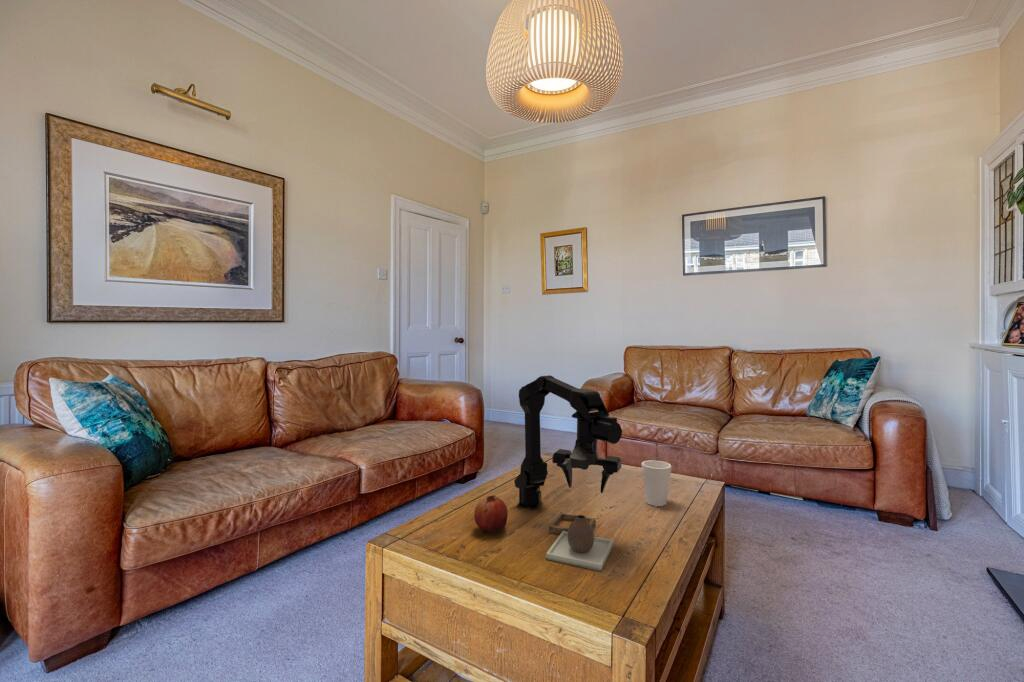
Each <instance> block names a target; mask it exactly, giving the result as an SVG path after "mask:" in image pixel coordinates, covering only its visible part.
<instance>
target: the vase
mask: <svg viewBox="0 0 1024 682" xmlns="http://www.w3.org/2000/svg"><path fill="white" fill-rule="evenodd" d="M576 515H577V516H576V518H575V520H574V521H571V523H570V524H569V527H568V528H569V529H568V534H567V537H568V543H569V545H570V547H571V549H572V550H573V551H575V552H576V553H581V554H582V553H587V552H588V551H589V550H590V549H591V548H592V546H593V544H594V537H595V532H594V528H592V526H591V525H590V524H589V522H588V521H587V519H586V517H585V516H586V515H583V514H576Z"/></svg>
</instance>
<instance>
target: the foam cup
mask: <svg viewBox="0 0 1024 682" xmlns="http://www.w3.org/2000/svg"><path fill="white" fill-rule="evenodd" d="M641 472H642V478H643V488H644V495H645V500H646V504H647V503H648V505H649V504H650V505H649V506H651V505H654V506H653V507H657V506H662V507H664V506H663V505H665V504H666V505H667V502H668V493H669V486H670V480H671V475H672V465H671V463H669V462H666V461H662V460H653V459H652V460H650V459H649V460H644V461H642V462H641ZM666 505H665V506H666Z"/></svg>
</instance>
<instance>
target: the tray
mask: <svg viewBox="0 0 1024 682" xmlns="http://www.w3.org/2000/svg"><path fill="white" fill-rule="evenodd" d="M567 534H568V532H567V531H563V532H562V533H561V534H560V535H558V537H557V538H556V540H555V541H554V542H553V544H552V545H551V546H550V548H549V549H548V550H547V551H546V554H545V560H548V561H552V562H557V563H561V564H566V565H571V566H575V567H580V568H585V569H589V570H593V571H597V572H602V571H603V568H604V567H605V564H606V562H607V560H608V558H609V556H610V553H611V551H612V549H613V547H614V539H613V540H612V539H609V538H603V537H598V536H597V537H596V536H594V544H593V546H592V548H591V549H590V550H589V551H588V552H587V553H582V554H581V553H576V552H575V551H573V550H572V549H571V547H570V545H569V543H568V537H567Z"/></svg>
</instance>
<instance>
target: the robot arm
mask: <svg viewBox="0 0 1024 682" xmlns="http://www.w3.org/2000/svg"><path fill="white" fill-rule="evenodd" d="M550 393H551V394H553V395H555V396H557V397H559V398H561V399H563V400H565V401H566V402H568V403H569V405H570V407H572V409H573V410H574V411H575V412H574V413H573V414H571V418H572V419H576V440H575V443H574V445H575V446H574V447H573V449H572V450H569V449H563V448H559V449H558V450H556V451H555V452H554V453H553V454H552V456H551V457H552V460H551V462H552V463H553V464H556V467H558V468H560V469H561V470H562V472H563V473H564V476H565V479H566V481H567V485H568V487H569V489H571V488H573V487H572V486H573V469H581V470H584V471H585V470H588V469H589V468H590V467H589V466H599V467H600V466H601V467H602V471H601V483H600V494H603V493H604V491H605V488H606V485H607V483H608V480H609V478H610V476H612V475H614V473H615V474H616V473H618V472H620V470H621V468H622V466H623V465H622V459H621V457H618V456H612V455H607V456H605V458H599V457H598V453H599V452H598V443H599V442H598V441H601V442H602V441H603V442H606V443H608V444H611V445H612V444H613V445H616V444H618V443H619V441H620V440H621V438H622V435H623V429H622V426H621V425H620V423H619V422H618V418H617V417H614V416H610V414H609V412H608V409H607V407H606V405H605V404H604V401H603V399H602V397H601V393H599V392H598V391H596V390H592V389H587V388H578V387H575V386H573V385H571V384H568V383H566V382H564V381H562V380H560V379H557V378H555V377H554V376H553V375H541V376H539V377H537V378H536V379H534V380H533V381H531V382H529V383H527V384H525V385H524V386H521V387H520V389H519V390H518V400H519V406H520V407H521V409H522V411H523V412H524V441H525V442H524V443H525V444H524V449H525V451H524V452H525V453H524V454H525V457H524V459H523V461H522V463H521V464H520V472H519V474H518V475H517V476H516V478H515V479H514V486H515V488H517V489H518V490H519V491H518V493H519V495H518V503H517V505H516V507H518V506H519V507H518V508H524V509H529V510H536V509H537V508H538V507H539V506H540V505H541V504H542V503H543V500H542V491H541V487H543V486H544V485H545V483H546V482H545V481H546V480H547V476H548V475H549V473H548V463H547V462H545V461H544V460H543V458H542V456H541V454H542V452H541V411H542V409H543V407H544V405H545V399H546V396H548V395H550Z"/></svg>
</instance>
